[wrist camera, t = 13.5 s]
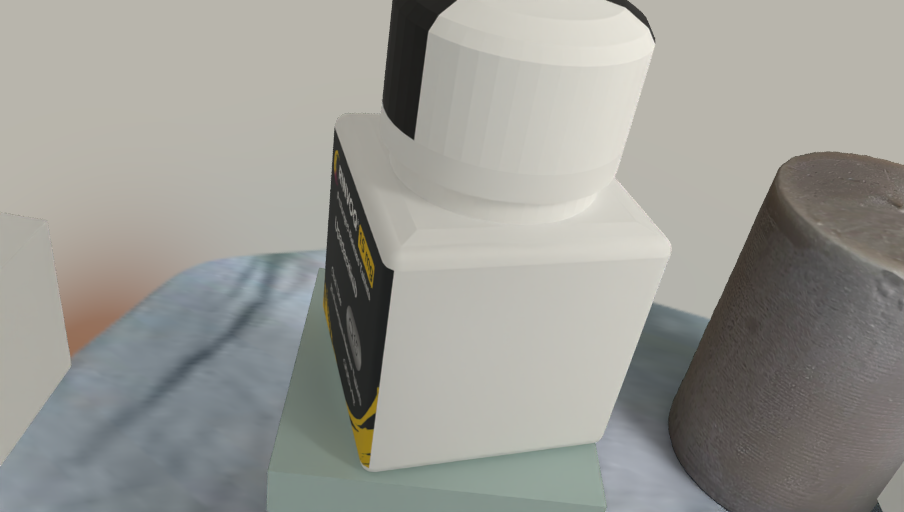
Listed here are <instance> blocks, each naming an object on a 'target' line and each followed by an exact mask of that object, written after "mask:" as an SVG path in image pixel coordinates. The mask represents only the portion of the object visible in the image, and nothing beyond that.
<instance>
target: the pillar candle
mask: <svg viewBox="0 0 904 512" xmlns="http://www.w3.org/2000/svg"><path fill="white" fill-rule="evenodd" d="M668 426H669V434H670V438H671V440H672V445H673V448H674V451H675V453H676V455H677V457H678V459H679V461H680V463H681V465H682V466H683V467H684V468H685V470H686V472H687V473H688V474H689V475H690V476H691V477H692V478H693V479H694V481H695V482H696V483H697V485H698V486H699V487H700V488H701V489H702V490H703V491H705V492H706V493H707V494H708V495H709V496H710V497H711V498H712V499H714V500H715V501H716V502H718V503H719V504H720V505H721V506H723V507H724V508H726V509H727V510H729V511H731V512H871V511H872V510H873V508H874V507H875V506H876V504H877V503H878V500H877V498H878V497H879V495H880V494H881V492H882V491H883V490H884V488H885V487H886V485H887V484H888V483H889V481H890V480H891V478H892V477H893V476H894V474H895V473H896V471H897V470H898V469H899V467H900V466H901V464H902V463H903V462H904V165H901V164H898V163H894V162H891V161H888V160H884V159H877V158H873V157H870V156H867V155H858V154H852V153H850V154H848V153H840V152H817V153H816V152H814V153H810V154H805V155H800V156H795V157H793V158H791V159H790V160H788V161H787V162H786V163H784V164H783V165H782V166H781V167H780V168H779V169H778V171H777V174H776V176H775V178H774V180H773V183H772V185H771V187H770V189H769V191H768V193H767V195H766V198H765V199H764V202H763V204H762V206H761V208H760V210H759V212H758V215H757V217H756V219H755V222H754V224H753V226H752V229H751V231H750V233H749V235H748V238H747V240H746V242H745V245H744V247H743V249H742V251H741V253H740V255H739V258H738V260H737V263H736V265H735V267H734V269H733V271H732V273H731V275H730V277H729V280H728V282H727V284H726V286H725V289H724V291H723V294H722V296H721V298H720V299H719V302H718V304H717V306H716V308H715V310H714V312H713V315H712V317H711V319H710V321H709V323H708V325H707V328H706V329H705V332H704V334H703V337H702V339H701V341H700V343H699V346H698V348H697V351H696V352H695V354H694V356H693V359H692V361H691V364H690V366H689V369H688V371H687V373H686V375H685V377H684V379H683V380H682V383H681V385H680V387H679V390H678V392H677V394H676V396H675V398H674V400H673V403H672V407H671V409H670V413H669V422H668Z"/></svg>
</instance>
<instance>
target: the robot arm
mask: <svg viewBox="0 0 904 512" xmlns="http://www.w3.org/2000/svg"><path fill="white" fill-rule="evenodd" d="M71 366H72V365H71V359H70V353H69V347H68V341H67V335H66V329H65V324H64V317H63V311H62V305H61V299H60V293H59V287H58V281H57V275H56V269H55V263H54V257H53V251H52V245H51V239H50V233H49V227H48V221H47V220H42V219H37V218H31V217H24V216H19V215H13V214H7V213H2V212H0V467H1V465H2V464H3V462H4V461H5V459H6V458H7V457H8V455H9V454H10V452H11V451H12V450H13V448H14V447H15V445H16V444H17V442H18V441H19V440H20V438H21V437H22V435H23V434H24V433H25V431H26V430H27V428H28V427H29V425H30V424H31V423H32V421H33V420H34V418H35V417H36V416H37V414H38V413H39V411H40V410H41V408H42V407H43V406H44V404H45V403H46V401H47V400H48V399H49V397H50V396H51V394H52V393H53V392H54V390H55V389H56V387H57V386H58V384H59V383H60V382H61V380H62V379H63V377H64V376H65V375H66V373H67V372H68V370H69V369H70V367H71ZM877 500H878V502H879V505H880V507H881V509H882V511H883V512H904V462H903V463H902V464H901V466H900V467H899V469H898V470H897V471H896V473H895V474H894V476H893V477H892V478H891V480H890V481H889V483H888V484H887V485H886V487H885V488H884V490H883V491H882V492H881V494H880V495H879V497H878V498H877Z"/></svg>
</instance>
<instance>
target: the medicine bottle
mask: <svg viewBox="0 0 904 512" xmlns="http://www.w3.org/2000/svg"><path fill="white" fill-rule="evenodd" d="M654 47H655V37H654V35H653V32H652V30H651V28H650V25H649V23H648V21H647V18H646V17H645V16H644V14H643V13H642V12H641V11H639V9H637V8H636V7H635V6H634V5H633V4H631V3H630V2H629V1H627V0H393V1H392V11H391V22H390V32H389V41H388V50H387V61H386V70H385V80H384V90H383V100H382V110H381V114H369V113H367V114H366V113H363V114H361V113H346V114H343V115H341V116H340V117H338V118H337V121H336V123H335V131H334V145H333V162H332V175H331V190H330V205H329V220H328V236H327V251H326V266H325V281H324V296H323V308H324V312H325V316H326V321H327V325H328V329H329V333H330V337H331V342H332V346H333V350H334V354H335V358H336V363H337V367H338V371H339V375H340V379H341V384H342V388H343V392H344V396H345V400H346V405H347V409H348V413H349V417H350V421H351V426H352V430H353V434H354V438H355V442H356V447H357V451H358V455H359V459H360V463H361V465H362V467H363V468H364V469H365V470H367V471H369V472H380V471H387V470H395V469H402V468H410V467H418V466H425V465H433V464H440V463H448V462H455V461H463V460H470V459H478V458H485V457H493V456H500V455H508V454H515V453H523V452H530V451H538V450H545V449H553V448H560V447H568V446H576V445H583V444H591V443H596V442H598V441H599V440H600V439H601V438H602V437H603V435H604V432H605V430H606V427H607V424H608V422H609V419H610V416H611V414H612V411H613V408H614V405H615V403H616V400H617V397H618V395H619V392H620V389H621V387H622V384H623V381H624V379H625V376H626V373H627V370H628V368H629V365H630V362H631V360H632V357H633V354H634V352H635V349H636V346H637V343H638V341H639V338H640V335H641V333H642V330H643V327H644V325H645V322H646V319H647V316H648V314H649V311H650V308H651V306H652V303H653V300H654V298H655V295H656V292H657V290H658V287H659V284H660V281H661V279H662V276H663V273H664V271H665V268H666V265H667V263H668V260H669V257H670V254H671V244H670V242H669V240H668V239H667V237H666V236H665V235H664V234H663V233H662V232H661V231H660V229H659V228H658V227H657V226H656V225H655V224H654V222H653V221H652V220H651V219H650V218H649V216H648V215H647V214H646V213H645V212H644V211H643V209H642V208H641V207H640V206H639V205H638V204H637V203H636V201H635V200H634V199H633V198H632V197H631V195H630V194H629V193H628V192H627V191H626V190H625V188H624V187H623V186H622V185H621V184H620V183H619V181H618V180H617V179H616V178H615V175H616V172H617V170H618V166H619V163H620V160H621V156H622V153H623V150H624V146H625V143H626V140H627V136H628V133H629V130H630V127H631V123H632V120H633V116H634V113H635V110H636V107H637V103H638V100H639V97H640V93H641V90H642V86H643V83H644V80H645V77H646V74H647V70H648V67H649V64H650V60H651V57H652V53H653V50H654Z"/></svg>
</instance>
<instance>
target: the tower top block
mask: <svg viewBox="0 0 904 512" xmlns="http://www.w3.org/2000/svg"><path fill="white" fill-rule="evenodd" d="M324 281H325V269H323V268H319V271H318V275H317V279H316V283H315V287H314V291H313V295H312V299H311V303H310V306H309V310H308V314H307V318H306V322H305V326H304V330H303V334H302V338H301V342H300V346H299V350H298V354H297V358H296V361H295V365H294V369H293V373H292V377H291V381H290V385H289V389H288V393H287V397H286V401H285V405H284V409H283V413H282V416H281V420H280V424H279V428H278V432H277V436H276V440H275V444H274V448H273V452H272V456H271V460H270V464H269V467H268V476H267V512H605V511H606V508H607V504H606V499H605V493H604V488H603V483H602V477H601V472H600V466H599V461H598V455H597V450H596V444H595V443H591V444H583V445H576V446H568V447H560V448H553V449H545V450H538V451H530V452H523V453H515V454H508V455H500V456H493V457H485V458H478V459H470V460H463V461H455V462H448V463H440V464H433V465H425V466H418V467H410V468H402V469H395V470H387V471H380V472H369V471H367V470H365V469H364V468H363V467H362V465H361V463H360V459H359V455H358V451H357V447H356V442H355V438H354V434H353V430H352V426H351V421H350V417H349V413H348V409H347V405H346V400H345V396H344V392H343V388H342V384H341V379H340V375H339V371H338V367H337V363H336V358H335V354H334V350H333V346H332V342H331V337H330V333H329V329H328V325H327V321H326V316H325V312H324V308H323V296H324Z"/></svg>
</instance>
